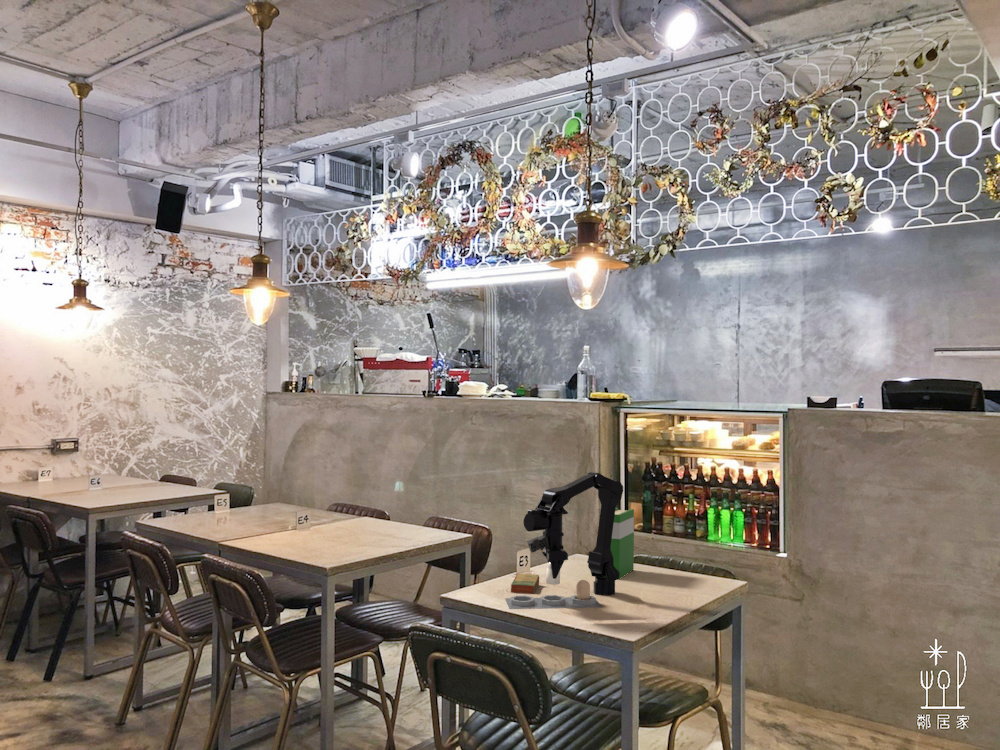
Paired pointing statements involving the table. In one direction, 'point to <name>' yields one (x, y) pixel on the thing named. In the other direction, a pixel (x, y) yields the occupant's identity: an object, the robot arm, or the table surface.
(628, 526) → the hardback book
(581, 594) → the brown egg
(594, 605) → the egg stand
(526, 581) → the carton
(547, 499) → the robot arm
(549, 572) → the cream egg
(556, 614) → the table surface
